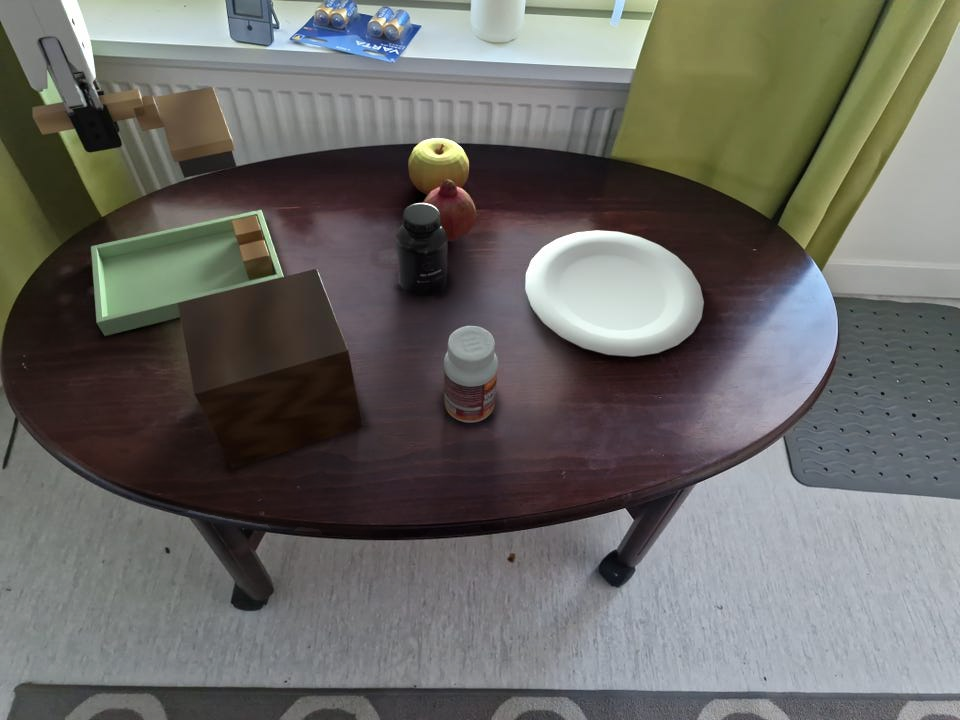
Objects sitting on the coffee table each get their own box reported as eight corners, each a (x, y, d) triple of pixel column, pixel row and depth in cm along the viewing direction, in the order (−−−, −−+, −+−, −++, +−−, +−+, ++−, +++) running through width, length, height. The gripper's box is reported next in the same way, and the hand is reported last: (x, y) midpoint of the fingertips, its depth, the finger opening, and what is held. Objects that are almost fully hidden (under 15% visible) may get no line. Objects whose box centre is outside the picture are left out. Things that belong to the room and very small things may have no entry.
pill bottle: (493, 426, 77) (498, 367, 68) (441, 422, 77) (440, 362, 68) (496, 385, 81) (501, 324, 72) (447, 381, 81) (446, 319, 72)
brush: (221, 114, 70) (203, 55, 65) (240, 168, 64) (222, 107, 59) (63, 144, 65) (31, 83, 60) (68, 205, 59) (32, 142, 54)
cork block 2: (249, 280, 90) (243, 261, 88) (244, 264, 92) (238, 245, 90) (274, 274, 91) (269, 255, 88) (269, 258, 93) (264, 239, 90)
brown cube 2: (241, 254, 94) (235, 235, 91) (237, 239, 96) (231, 220, 93) (266, 248, 94) (260, 229, 92) (261, 234, 96) (256, 215, 94)
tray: (104, 336, 84) (96, 322, 82) (98, 260, 93) (90, 246, 90) (287, 290, 90) (283, 276, 88) (264, 223, 99) (261, 209, 97)
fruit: (424, 255, 96) (422, 200, 88) (420, 221, 101) (418, 165, 93) (478, 252, 96) (480, 197, 89) (471, 218, 102) (473, 163, 94)
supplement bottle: (430, 306, 89) (428, 238, 80) (389, 287, 91) (383, 219, 82) (456, 277, 93) (457, 209, 84) (416, 259, 95) (413, 191, 86)
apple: (480, 184, 107) (482, 141, 101) (446, 214, 102) (446, 170, 96) (432, 163, 111) (431, 120, 104) (397, 191, 105) (393, 148, 99)
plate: (514, 239, 99) (515, 230, 97) (674, 236, 101) (677, 227, 99) (535, 366, 83) (537, 358, 82) (724, 360, 85) (728, 352, 84)
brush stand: (232, 468, 72) (194, 394, 61) (214, 382, 80) (177, 302, 69) (362, 426, 76) (348, 350, 65) (333, 348, 84) (316, 268, 73)
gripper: (-51, -112, 51) (57, 107, 65) (-65, -40, 42) (64, 197, 56) (54, -119, 53) (137, 94, 67) (62, -52, 44) (155, 179, 58)
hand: (103, 140), depth 62 cm, fingers closed on brush
